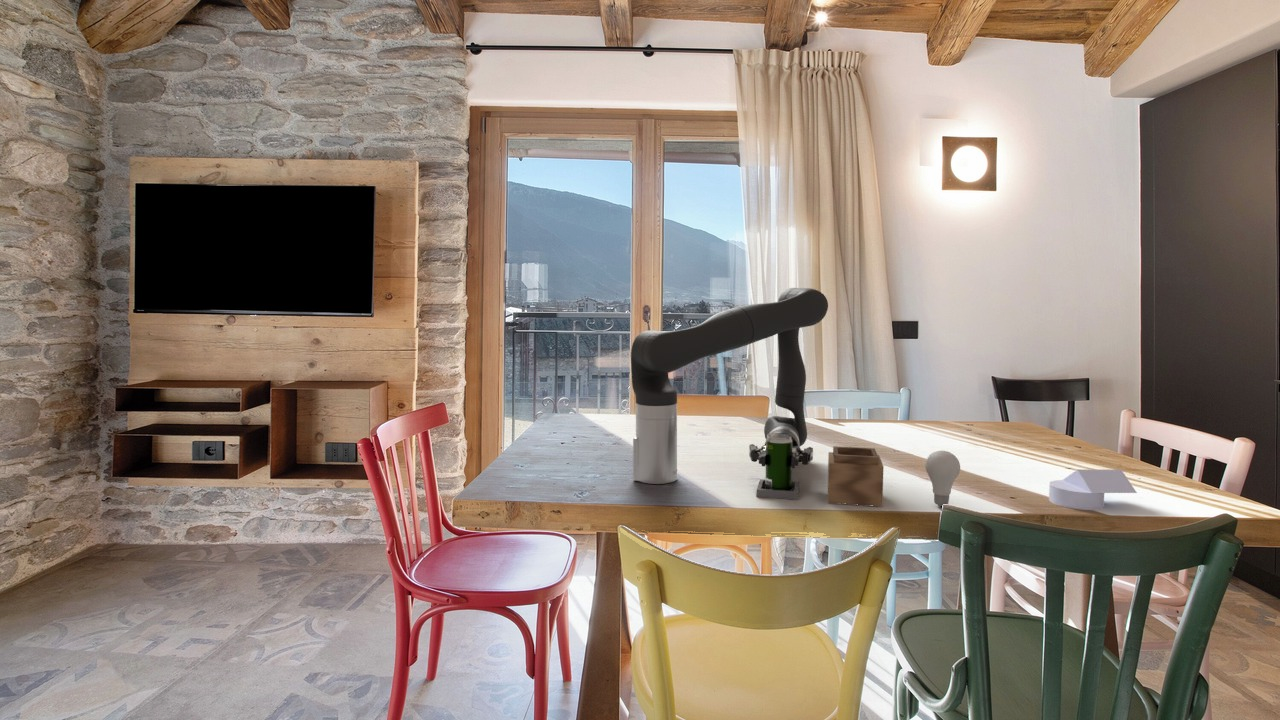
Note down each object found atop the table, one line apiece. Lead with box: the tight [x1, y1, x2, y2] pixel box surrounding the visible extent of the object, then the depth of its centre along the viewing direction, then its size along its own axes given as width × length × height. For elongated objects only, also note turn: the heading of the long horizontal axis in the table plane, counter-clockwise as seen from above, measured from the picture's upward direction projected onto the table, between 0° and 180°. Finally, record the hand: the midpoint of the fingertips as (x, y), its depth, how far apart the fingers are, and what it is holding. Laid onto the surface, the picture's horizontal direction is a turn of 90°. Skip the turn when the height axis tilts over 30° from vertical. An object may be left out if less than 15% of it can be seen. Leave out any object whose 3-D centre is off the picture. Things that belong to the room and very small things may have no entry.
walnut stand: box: [827, 445, 884, 507], centre depth 134 cm, size 10×10×10 cm
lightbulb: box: [924, 450, 961, 508], centre depth 128 cm, size 6×6×11 cm
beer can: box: [764, 433, 793, 491], centre depth 138 cm, size 5×5×12 cm
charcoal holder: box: [756, 478, 800, 501], centre depth 138 cm, size 8×8×2 cm
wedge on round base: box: [1048, 469, 1138, 511], centre depth 130 cm, size 9×7×13 cm
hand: (778, 462), depth 135 cm, fingers closed on beer can, 5 cm apart
